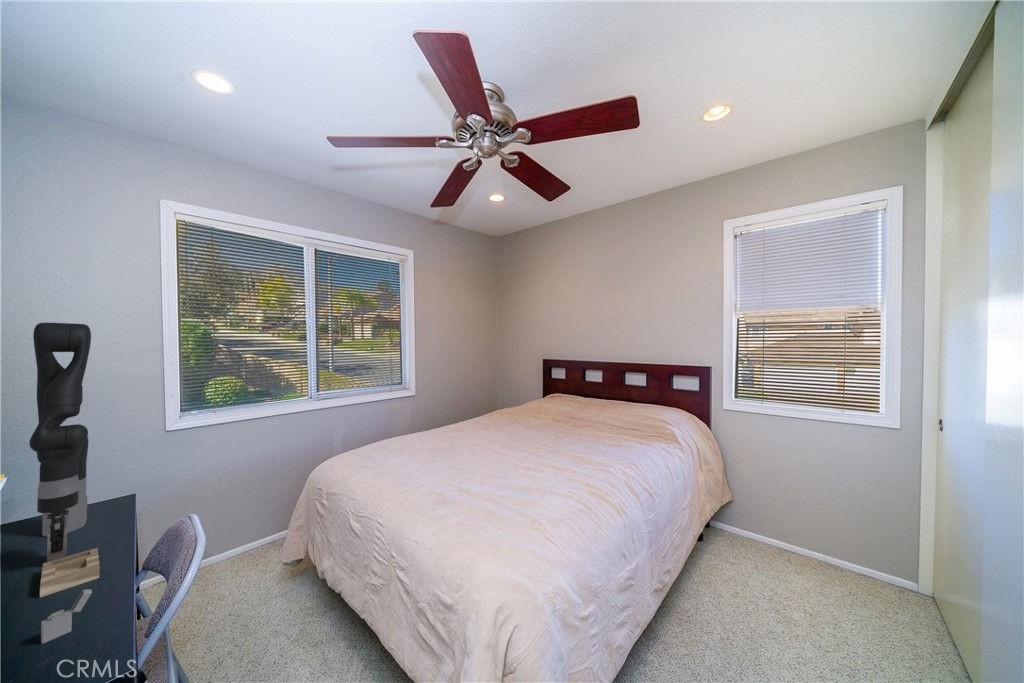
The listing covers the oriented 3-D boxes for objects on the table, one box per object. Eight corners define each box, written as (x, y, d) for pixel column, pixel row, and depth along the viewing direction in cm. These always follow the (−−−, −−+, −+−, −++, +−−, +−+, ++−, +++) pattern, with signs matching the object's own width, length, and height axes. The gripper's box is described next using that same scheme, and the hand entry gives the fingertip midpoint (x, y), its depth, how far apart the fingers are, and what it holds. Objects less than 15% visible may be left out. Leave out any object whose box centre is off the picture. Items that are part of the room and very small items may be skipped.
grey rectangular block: (47, 556, 104) (48, 527, 104) (66, 551, 107) (67, 522, 107) (46, 561, 102) (47, 531, 102) (66, 556, 105) (67, 526, 105)
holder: (42, 573, 99) (43, 563, 99) (97, 557, 107) (97, 547, 107) (39, 597, 90) (40, 586, 90) (99, 577, 98) (99, 567, 98)
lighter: (41, 644, 77) (42, 608, 77) (40, 640, 78) (41, 605, 78) (91, 622, 83) (92, 589, 83) (89, 619, 84) (90, 586, 84)
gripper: (78, 495, 103) (77, 552, 103) (78, 481, 111) (77, 534, 112) (35, 504, 97) (34, 565, 97) (39, 489, 106) (37, 545, 106)
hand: (57, 548), depth 104 cm, fingers closed on grey rectangular block, 3 cm apart
